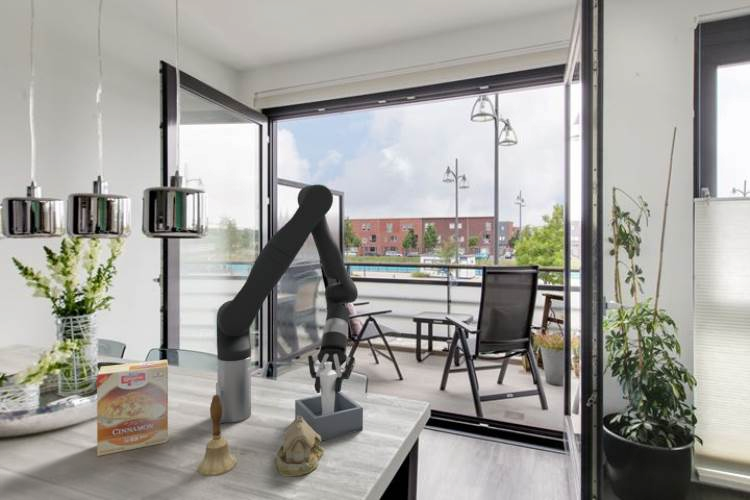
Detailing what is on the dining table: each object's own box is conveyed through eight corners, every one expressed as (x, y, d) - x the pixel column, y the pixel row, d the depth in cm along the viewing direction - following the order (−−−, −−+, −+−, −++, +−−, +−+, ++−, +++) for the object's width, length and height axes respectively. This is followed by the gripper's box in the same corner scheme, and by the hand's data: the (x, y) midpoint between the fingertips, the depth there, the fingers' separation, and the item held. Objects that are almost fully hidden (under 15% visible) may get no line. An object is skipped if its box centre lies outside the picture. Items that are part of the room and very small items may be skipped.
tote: (314, 442, 104) (314, 418, 104) (295, 421, 116) (295, 400, 116) (362, 429, 111) (362, 407, 111) (340, 411, 123) (340, 391, 123)
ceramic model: (278, 446, 102) (278, 406, 102) (323, 443, 104) (323, 404, 103) (271, 478, 88) (271, 432, 88) (324, 475, 90) (324, 429, 89)
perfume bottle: (333, 421, 111) (334, 365, 110) (318, 419, 112) (318, 364, 111) (338, 413, 115) (338, 360, 115) (323, 412, 116) (323, 359, 116)
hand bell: (197, 479, 87) (197, 405, 87) (197, 460, 95) (197, 391, 95) (238, 471, 91) (238, 399, 90) (235, 453, 98) (235, 387, 98)
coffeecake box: (96, 457, 96) (96, 374, 96) (100, 443, 102) (100, 365, 102) (168, 443, 103) (168, 365, 103) (167, 431, 109) (167, 358, 109)
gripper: (309, 329, 121) (298, 385, 109) (357, 330, 120) (352, 386, 108) (313, 343, 126) (303, 397, 115) (359, 344, 125) (354, 399, 113)
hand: (327, 391), depth 111 cm, fingers closed on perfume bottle, 4 cm apart
